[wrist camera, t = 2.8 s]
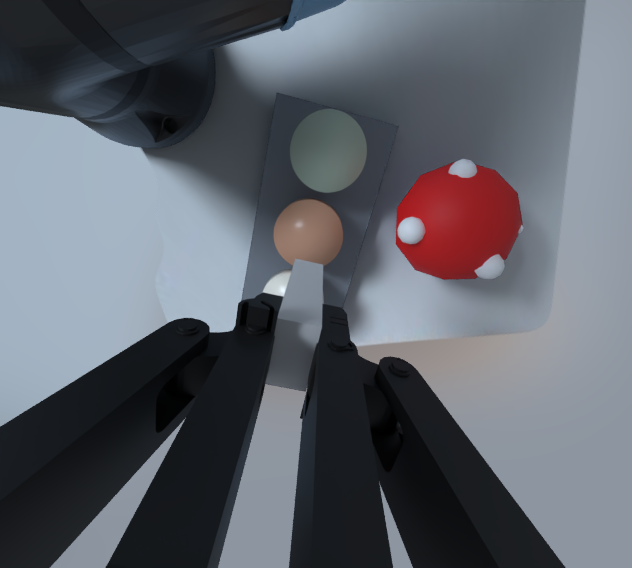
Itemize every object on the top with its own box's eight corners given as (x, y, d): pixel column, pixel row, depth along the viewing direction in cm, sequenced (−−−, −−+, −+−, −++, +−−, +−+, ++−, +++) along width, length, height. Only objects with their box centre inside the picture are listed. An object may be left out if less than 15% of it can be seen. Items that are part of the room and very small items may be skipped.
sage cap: (285, 180, 30) (282, 182, 28) (301, 103, 27) (299, 99, 25) (352, 197, 30) (354, 200, 28) (373, 123, 28) (377, 120, 26)
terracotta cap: (271, 254, 32) (267, 260, 30) (284, 190, 30) (281, 192, 28) (332, 268, 33) (333, 276, 31) (349, 207, 30) (351, 210, 28)
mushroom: (368, 183, 34) (390, 195, 23) (470, 142, 32) (546, 133, 21) (396, 269, 38) (426, 316, 26) (488, 237, 36) (562, 272, 25)
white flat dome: (259, 316, 35) (255, 325, 33) (269, 262, 33) (266, 268, 31) (315, 329, 36) (315, 339, 34) (330, 276, 33) (330, 284, 31)
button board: (244, 299, 40) (238, 309, 37) (279, 96, 31) (275, 90, 28) (335, 320, 40) (336, 332, 38) (394, 128, 32) (400, 125, 29)
